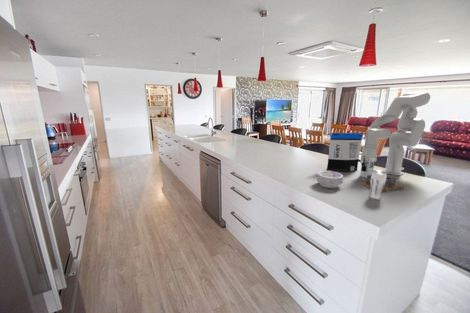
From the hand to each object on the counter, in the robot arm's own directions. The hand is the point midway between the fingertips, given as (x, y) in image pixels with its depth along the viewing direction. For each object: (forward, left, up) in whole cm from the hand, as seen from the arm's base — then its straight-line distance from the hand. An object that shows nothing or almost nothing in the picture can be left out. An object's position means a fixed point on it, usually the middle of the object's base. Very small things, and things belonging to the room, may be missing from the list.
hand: (366, 170), depth 153 cm
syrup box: (0, 0, -5) cm, 5 cm away
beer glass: (+29, +29, -5) cm, 41 cm away
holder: (+9, +17, -5) cm, 20 cm away
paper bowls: (+40, +6, -5) cm, 41 cm away
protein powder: (+4, -18, -5) cm, 19 cm away
